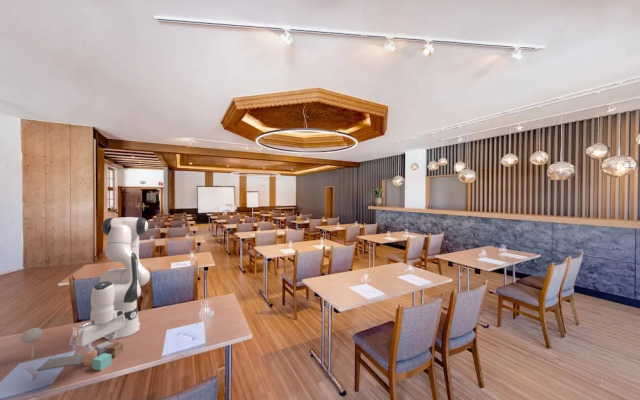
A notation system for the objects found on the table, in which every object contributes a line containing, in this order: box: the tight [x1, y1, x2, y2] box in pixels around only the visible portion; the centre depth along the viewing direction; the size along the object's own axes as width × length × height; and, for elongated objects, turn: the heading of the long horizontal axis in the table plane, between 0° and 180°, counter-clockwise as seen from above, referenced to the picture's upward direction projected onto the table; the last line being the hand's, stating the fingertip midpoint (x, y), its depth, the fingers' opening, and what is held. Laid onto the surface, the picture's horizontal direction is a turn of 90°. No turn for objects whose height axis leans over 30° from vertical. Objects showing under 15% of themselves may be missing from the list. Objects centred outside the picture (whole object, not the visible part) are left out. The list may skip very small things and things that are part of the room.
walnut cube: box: [106, 341, 124, 358], centre depth 132 cm, size 5×5×5 cm
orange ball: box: [82, 349, 98, 367], centre depth 125 cm, size 5×5×5 cm
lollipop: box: [21, 327, 44, 359], centre depth 128 cm, size 7×7×15 cm
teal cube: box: [92, 353, 113, 372], centre depth 122 cm, size 5×5×5 cm
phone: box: [37, 353, 84, 371], centre depth 125 cm, size 8×16×1 cm, turn 107°
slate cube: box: [95, 340, 112, 357], centre depth 132 cm, size 5×5×5 cm
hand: (101, 345), depth 122 cm, fingers open, 8 cm apart
